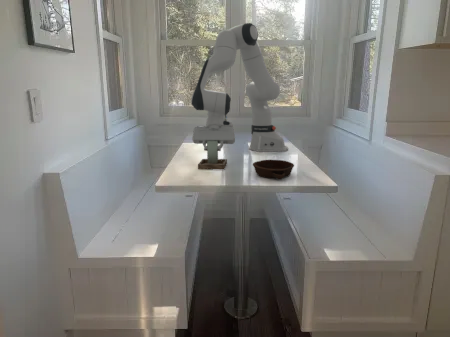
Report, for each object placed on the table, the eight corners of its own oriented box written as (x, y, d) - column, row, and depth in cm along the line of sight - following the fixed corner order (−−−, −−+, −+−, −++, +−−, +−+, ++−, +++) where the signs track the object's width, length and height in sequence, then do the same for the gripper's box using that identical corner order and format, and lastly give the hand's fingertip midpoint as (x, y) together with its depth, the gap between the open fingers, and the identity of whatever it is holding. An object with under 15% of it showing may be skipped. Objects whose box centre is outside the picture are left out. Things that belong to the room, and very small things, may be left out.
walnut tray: (226, 163, 174) (226, 159, 173) (223, 169, 162) (223, 164, 162) (202, 163, 175) (202, 158, 175) (198, 169, 163) (197, 164, 163)
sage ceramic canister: (218, 161, 170) (218, 140, 168) (217, 163, 165) (216, 142, 163) (208, 160, 171) (207, 140, 168) (206, 163, 166) (206, 142, 164)
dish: (258, 183, 141) (258, 171, 140) (248, 169, 163) (248, 159, 161) (300, 181, 143) (301, 169, 142) (285, 168, 164) (286, 157, 163)
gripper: (192, 122, 172) (189, 146, 165) (235, 122, 169) (233, 146, 162) (195, 130, 177) (191, 153, 170) (236, 130, 175) (234, 154, 168)
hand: (212, 150), depth 166 cm, fingers closed on sage ceramic canister, 5 cm apart
